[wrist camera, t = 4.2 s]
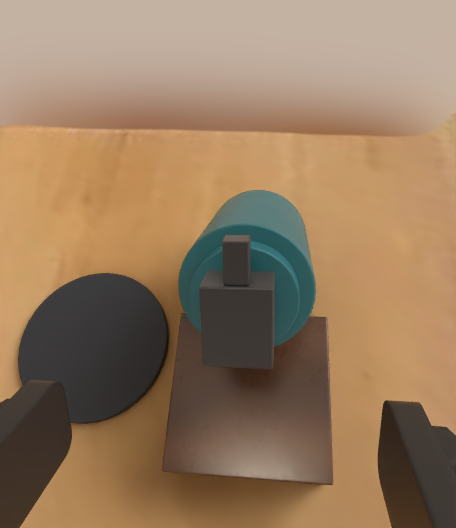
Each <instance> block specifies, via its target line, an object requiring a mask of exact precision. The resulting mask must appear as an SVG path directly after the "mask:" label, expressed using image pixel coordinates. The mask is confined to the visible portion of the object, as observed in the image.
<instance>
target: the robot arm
mask: <svg viewBox="0 0 456 528" xmlns="http://www.w3.org/2000/svg"><path fill="white" fill-rule="evenodd" d="M71 439H72V430H71V424H70V418H69V412H68V406H67V401H66V395H65V390H64V386H63V384H62V383H61V382H59V381H41V380H30V381H28V382H27V383H25V384H24V385H23V386H22V387H21V388H20V389H19V390H18V392H17V393H16V394H15V395H14V396H13V397H12V398H11V399H6V400H4V401H3V402H1V403H0V528H20V526H21V524H22V523H23V521H24V520H25V518H26V517H27V515H28V514H29V512H30V511H31V509H32V508H33V506H34V505H35V503H36V502H37V500H38V499H39V497H40V495H41V494H42V492H43V491H44V489H45V488H46V486H47V485H48V483H49V482H50V480H51V479H52V477H53V476H54V474H55V473H56V471H57V469H58V468H59V466H60V465H61V463H62V462H63V460H64V459H65V457H66V455H67V453H68V451H69V448H70V444H71ZM378 472H379V479H380V484H381V488H382V492H383V495H384V499H385V503H386V507H387V511H388V515H389V519H390V522H391V526H392V528H456V435H454V434H453V433H452V432H451V431H450V430H449V429H448V428H447V427H438V426H431V424H430V422H429V420H428V418H427V416H426V413H425V411H424V409H423V407H422V405H421V404H420V403H419V402H405V401H385V402H384V404H383V410H382V420H381V429H380V439H379V448H378Z"/></svg>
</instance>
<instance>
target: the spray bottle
mask: <svg viewBox="0 0 456 528" xmlns="http://www.w3.org/2000/svg"><path fill="white" fill-rule="evenodd" d="M315 293H316V288H315V279H314V273H313V268H312V262H311V257H310V251H309V246H308V241H307V235H306V230H305V225H304V222H303V219H302V217H301V215H300V213H299V212H298V210H297V209H296V208H295V207H294V205H293V204H292V203H290V202H289V201H288V200H287V199H285V198H284V197H282V196H280V195H278V194H276V193H273V192H269V191H264V190H253V191H247V192H243V193H240V194H238V195H236V196H234V197H232V198H231V199H229V200H228V201H227V202H226V203H225V204H224V205H223V206H222V207H221V208H220V209H219V211H218V212H217V214H216V215H215V216H214V218H213V219H212V220H211V222H210V223H209V224H208V226H207V227H206V229H205V230H204V231H203V233H202V234H201V235H200V237H199V238H198V239H197V241H196V242H195V244H194V245H193V246H192V248H191V249H190V250H189V252H188V254H187V255H186V257H185V259H184V261H183V263H182V266H181V270H180V274H179V296H180V300H181V304H182V307H183V309H184V311H185V313H186V315H187V317H188V318H189V320H190V321H191V323H192V324H193V325H194V327H195V328H196V329H197V330H198V331H199V332H200V333H201V337H202V356H203V365H204V366H208V367H230V368H251V369H273V361H274V347H275V346H278V345H280V344H282V343H284V342H285V341H287V340H288V339H290V338H291V337H293V336H294V335H295V334H296V333H297V332H298V331H299V330H300V329H301V328H302V327H303V325H304V324H305V323H306V321H307V319H308V318H309V316H310V313H311V311H312V309H313V305H314V301H315Z"/></svg>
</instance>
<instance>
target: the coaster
mask: <svg viewBox="0 0 456 528" xmlns="http://www.w3.org/2000/svg"><path fill="white" fill-rule="evenodd" d="M167 348H168V326H167V321H166V317H165V314H164V311H163V309H162V307H161V305H160V304H159V302H158V300H157V299H156V298H155V296H154V295H153V294H152V293H151V292H150V291H149V290H148V289H147V288H146V287H145V286H144V285H142V284H141V283H139V282H138V281H136V280H134V279H132V278H129V277H126V276H123V275H118V274H110V273H102V274H93V275H88V276H84V277H81V278H78V279H76V280H73V281H71V282H69V283H67V284H65V285H63V286H62V287H60V288H59V289H57V290H56V291H55V292H53V293H52V294H51V295H50V296H49V297H48V298H47V299H46V300H45V301H44V302H43V303H42V304H41V305H40V306H39V307H38V309H37V310H36V311H35V312H34V314H33V316H32V317H31V319H30V320H29V322H28V324H27V326H26V328H25V331H24V334H23V336H22V339H21V344H20V348H19V357H18V365H19V373H20V378H21V382H22V385H24V384H25V383H27V382H28V381H30V380H41V381H59V382H61V383H62V384H63V386H64V390H65V395H66V401H67V406H68V412H69V418H70V423H77V424H88V423H95V422H100V421H103V420H107V419H110V418H112V417H114V416H117V415H119V414H121V413H122V412H124V411H126V410H127V409H129V408H130V407H131V406H133V405H134V404H135V403H137V402H138V401H139V400H140V399H141V398H142V397H143V396H144V395H145V394H146V393H147V391H148V390H149V389H150V388H151V386H152V385H153V383H154V382H155V380H156V379H157V377H158V375H159V373H160V371H161V369H162V367H163V364H164V361H165V358H166V353H167Z"/></svg>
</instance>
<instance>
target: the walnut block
mask: <svg viewBox="0 0 456 528" xmlns="http://www.w3.org/2000/svg"><path fill="white" fill-rule="evenodd" d="M162 471H163V472H172V473H185V474H197V475H210V476H222V477H235V478H247V479H260V480H273V481H285V482H298V483H310V484H323V485H333V461H332V432H331V404H330V375H329V346H328V318H327V317H309V318H308V319H307V321H306V323H305V324H304V325H303V327H302V328H301V329H300V330H299V331H298V332H297V333H296V334H295V335H294V336H293V337H291V338H290V339H288V340H287V341H285V342H284V343H282V344H280V345H278V346H275V347H274V361H273V369H251V368H230V367H208V366H204V365H203V356H202V337H201V333H200V332H199V331H198V330H197V329H196V328H195V327H194V325H193V324H192V323H191V321H190V320H189V318H188V317H187V315H186V313H181V320H180V328H179V336H178V344H177V352H176V360H175V368H174V376H173V384H172V392H171V400H170V408H169V416H168V424H167V432H166V440H165V448H164V456H163V464H162Z"/></svg>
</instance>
